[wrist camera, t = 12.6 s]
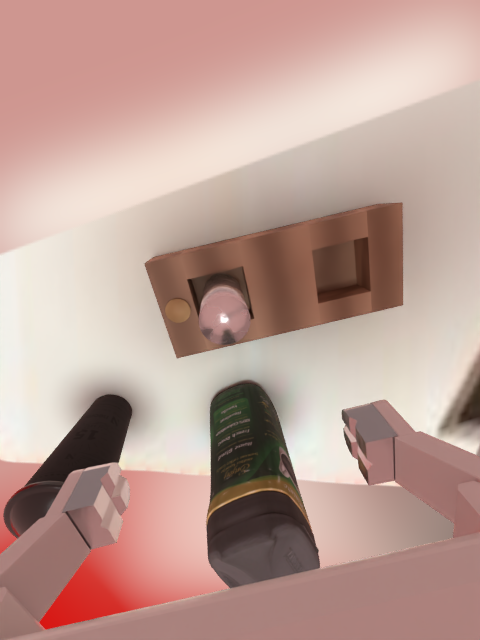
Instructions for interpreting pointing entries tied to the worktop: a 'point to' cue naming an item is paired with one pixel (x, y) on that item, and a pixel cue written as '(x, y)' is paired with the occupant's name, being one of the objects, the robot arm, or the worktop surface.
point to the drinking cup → (71, 460)
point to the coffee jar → (254, 494)
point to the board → (288, 275)
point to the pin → (223, 310)
